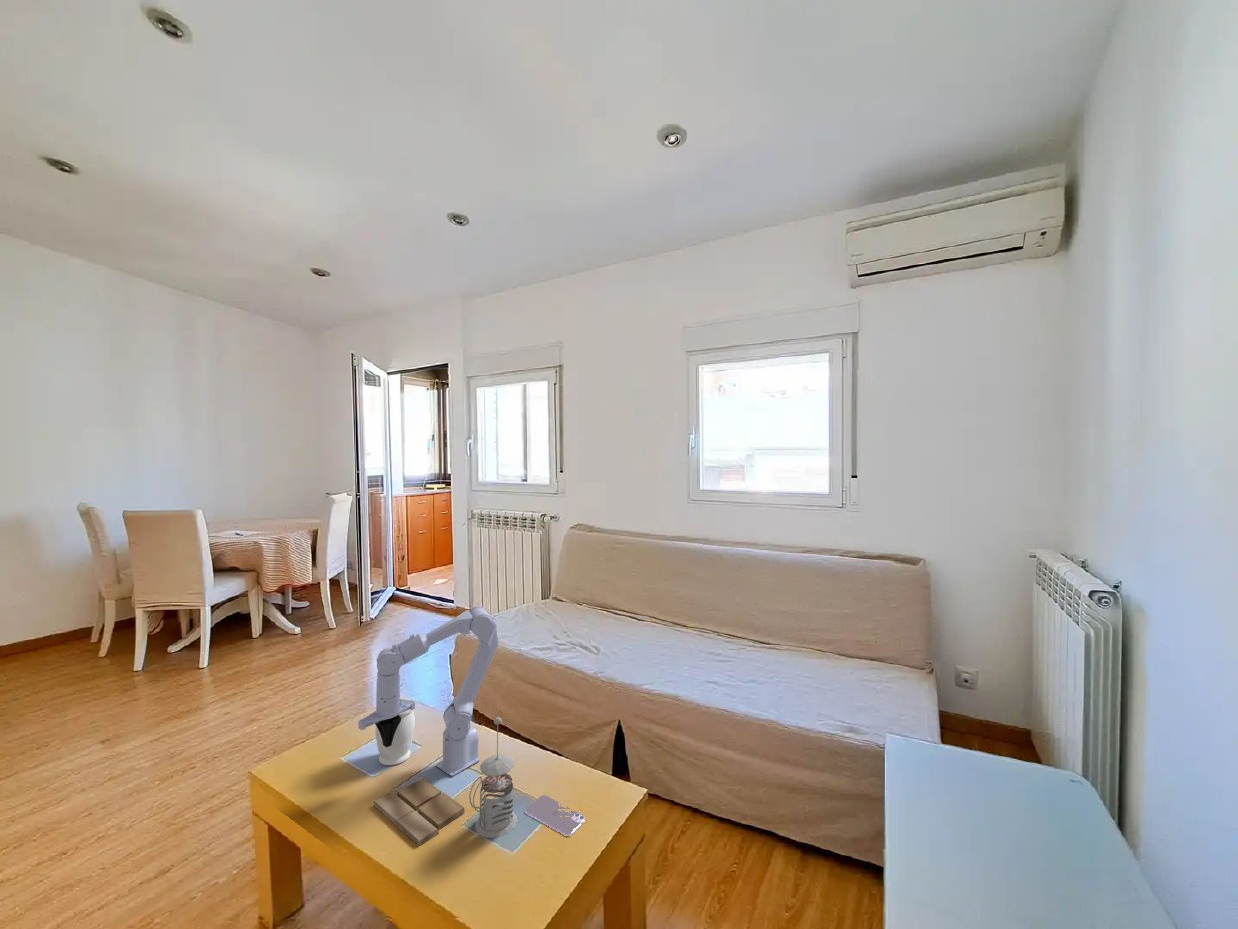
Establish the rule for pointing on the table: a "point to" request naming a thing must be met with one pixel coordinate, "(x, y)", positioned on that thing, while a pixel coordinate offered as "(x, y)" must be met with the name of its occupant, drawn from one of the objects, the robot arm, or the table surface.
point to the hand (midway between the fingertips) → (387, 745)
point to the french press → (495, 816)
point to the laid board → (406, 818)
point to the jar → (398, 740)
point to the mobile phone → (554, 815)
